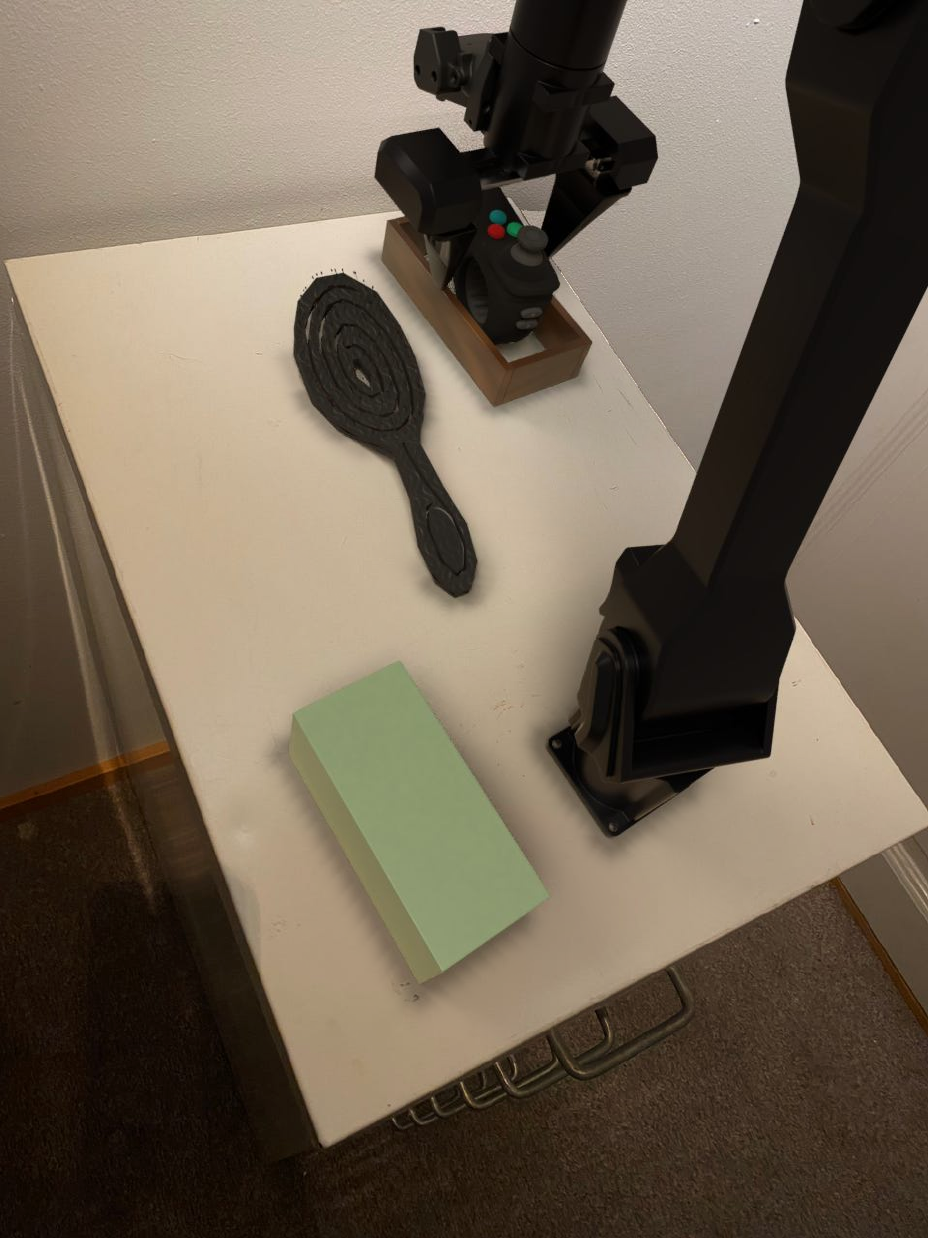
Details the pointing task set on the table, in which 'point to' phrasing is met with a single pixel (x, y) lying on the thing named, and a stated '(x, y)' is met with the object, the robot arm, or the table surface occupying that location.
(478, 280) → the controller
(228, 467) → the table surface
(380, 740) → the mint green rectangular brick
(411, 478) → the hairbrush
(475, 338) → the frame
